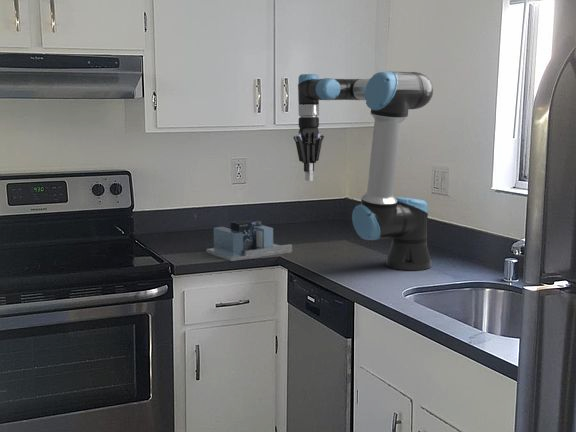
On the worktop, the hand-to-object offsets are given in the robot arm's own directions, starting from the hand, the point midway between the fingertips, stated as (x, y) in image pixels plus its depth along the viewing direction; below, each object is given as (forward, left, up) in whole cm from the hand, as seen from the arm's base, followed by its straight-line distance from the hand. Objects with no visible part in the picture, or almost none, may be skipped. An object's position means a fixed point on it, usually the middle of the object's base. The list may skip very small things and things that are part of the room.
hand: (309, 180), depth 278 cm
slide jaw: (+6, +19, -24) cm, 31 cm away
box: (+6, +25, -25) cm, 36 cm away
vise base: (+6, +23, -26) cm, 35 cm away
